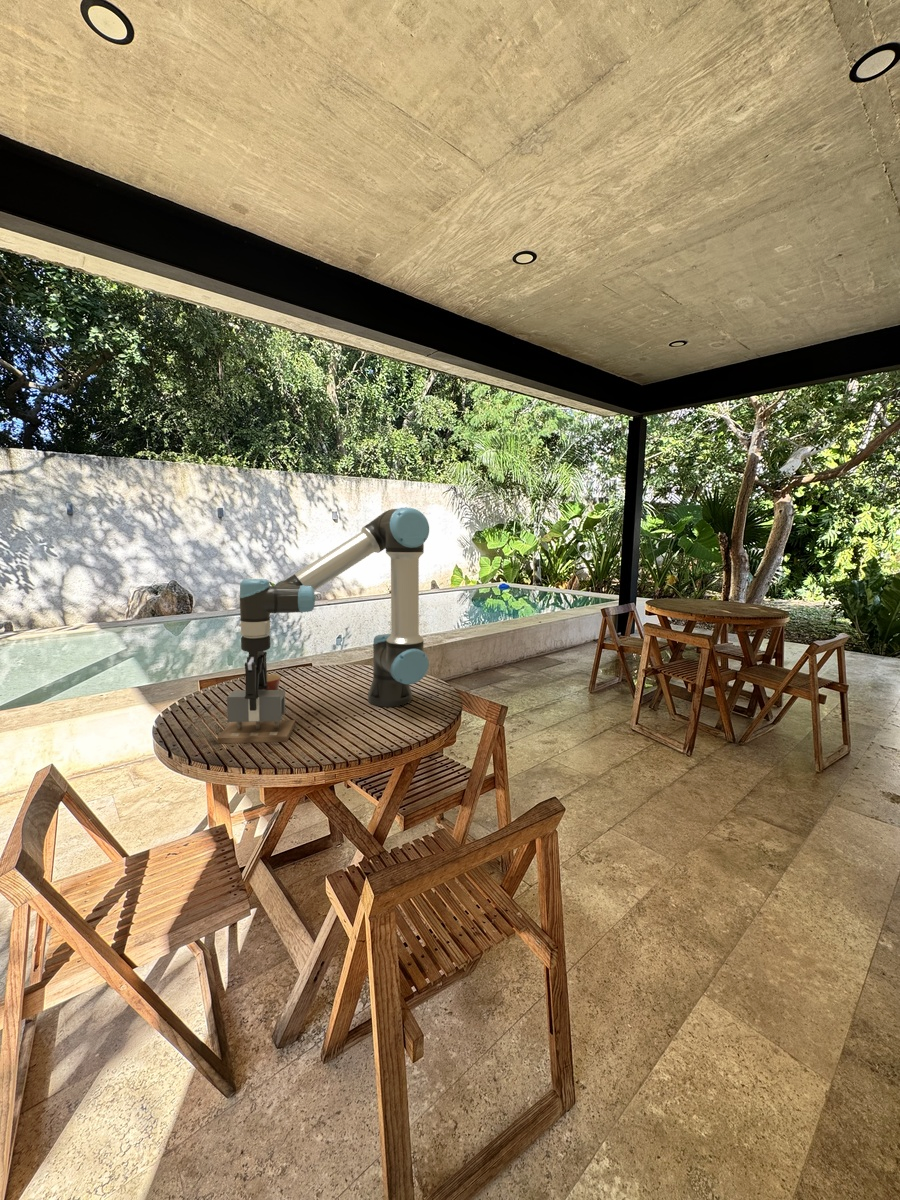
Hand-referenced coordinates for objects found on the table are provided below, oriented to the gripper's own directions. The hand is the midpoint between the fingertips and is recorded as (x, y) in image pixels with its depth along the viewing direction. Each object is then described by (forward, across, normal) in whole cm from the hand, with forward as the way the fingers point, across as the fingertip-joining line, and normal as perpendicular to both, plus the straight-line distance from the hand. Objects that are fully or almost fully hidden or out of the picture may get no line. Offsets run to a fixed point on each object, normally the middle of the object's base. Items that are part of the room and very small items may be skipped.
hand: (257, 716), depth 137 cm
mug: (+5, -19, -3) cm, 20 cm away
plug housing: (0, 0, 0) cm, 0 cm away
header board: (+5, 0, 0) cm, 5 cm away
